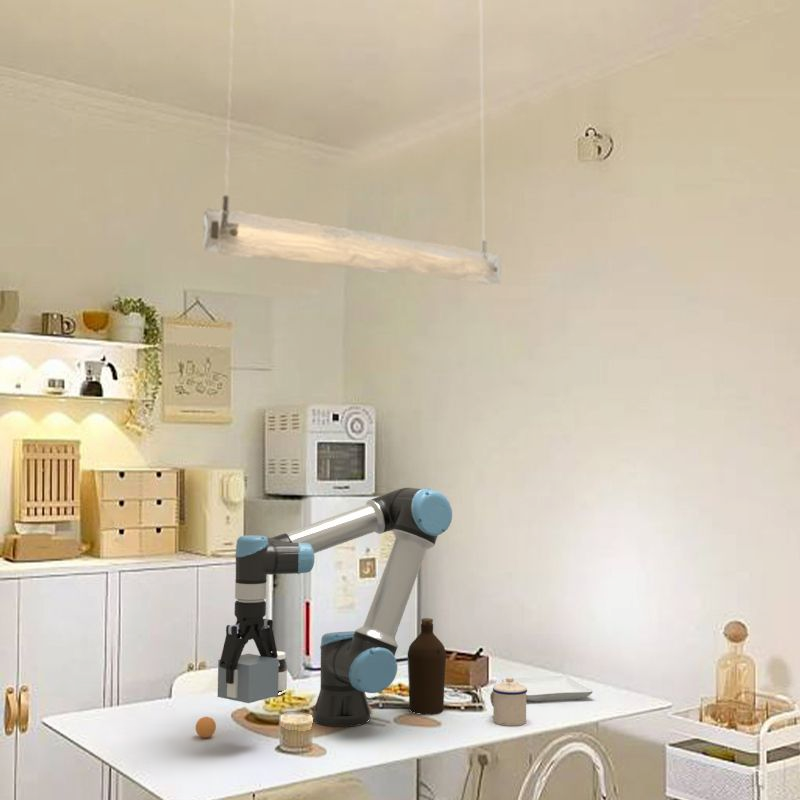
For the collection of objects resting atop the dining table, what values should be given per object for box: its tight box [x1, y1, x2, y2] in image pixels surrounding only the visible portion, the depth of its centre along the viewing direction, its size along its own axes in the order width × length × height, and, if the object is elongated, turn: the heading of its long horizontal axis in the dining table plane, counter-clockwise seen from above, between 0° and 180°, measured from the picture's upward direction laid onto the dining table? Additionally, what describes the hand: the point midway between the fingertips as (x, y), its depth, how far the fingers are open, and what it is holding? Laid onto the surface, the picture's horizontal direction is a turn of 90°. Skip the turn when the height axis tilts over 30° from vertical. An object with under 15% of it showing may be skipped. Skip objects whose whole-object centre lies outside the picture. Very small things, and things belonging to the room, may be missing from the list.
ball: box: [195, 716, 217, 739], centre depth 264 cm, size 5×5×5 cm
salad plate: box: [501, 675, 594, 702], centre depth 314 cm, size 21×21×3 cm
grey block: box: [217, 653, 279, 704], centre depth 257 cm, size 10×10×9 cm
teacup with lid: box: [489, 676, 527, 727], centre depth 283 cm, size 12×9×12 cm
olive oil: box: [407, 617, 447, 715], centre depth 294 cm, size 11×11×25 cm
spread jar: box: [271, 650, 288, 693], centre depth 313 cm, size 12×11×12 cm
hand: (248, 693), depth 256 cm, fingers closed on grey block, 10 cm apart
